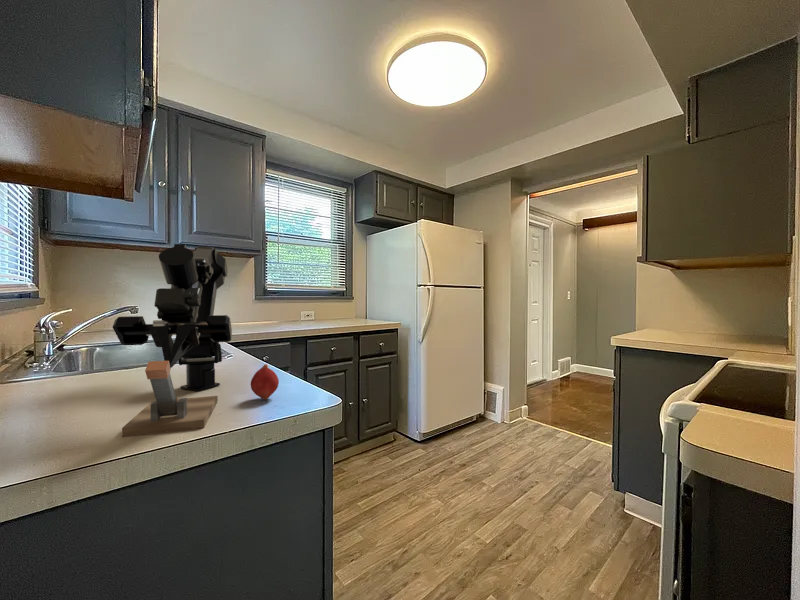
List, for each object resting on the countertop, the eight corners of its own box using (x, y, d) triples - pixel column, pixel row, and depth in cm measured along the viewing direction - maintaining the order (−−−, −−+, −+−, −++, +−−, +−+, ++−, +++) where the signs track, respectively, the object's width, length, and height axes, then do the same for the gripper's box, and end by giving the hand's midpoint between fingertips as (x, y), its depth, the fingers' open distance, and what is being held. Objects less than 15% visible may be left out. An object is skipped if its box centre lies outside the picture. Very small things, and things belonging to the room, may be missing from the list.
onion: (245, 402, 76) (245, 365, 76) (261, 394, 82) (261, 360, 82) (268, 404, 75) (268, 367, 75) (283, 396, 80) (283, 362, 80)
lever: (162, 409, 63) (148, 361, 56) (180, 408, 64) (168, 360, 57) (159, 419, 62) (145, 370, 55) (178, 417, 63) (165, 369, 56)
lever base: (152, 408, 72) (152, 386, 72) (217, 402, 76) (217, 381, 76) (122, 436, 58) (121, 409, 57) (203, 428, 62) (203, 402, 62)
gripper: (116, 272, 63) (85, 341, 53) (229, 274, 69) (221, 337, 59) (133, 312, 71) (109, 379, 61) (234, 311, 77) (228, 372, 67)
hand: (168, 366), depth 62 cm, fingers closed
